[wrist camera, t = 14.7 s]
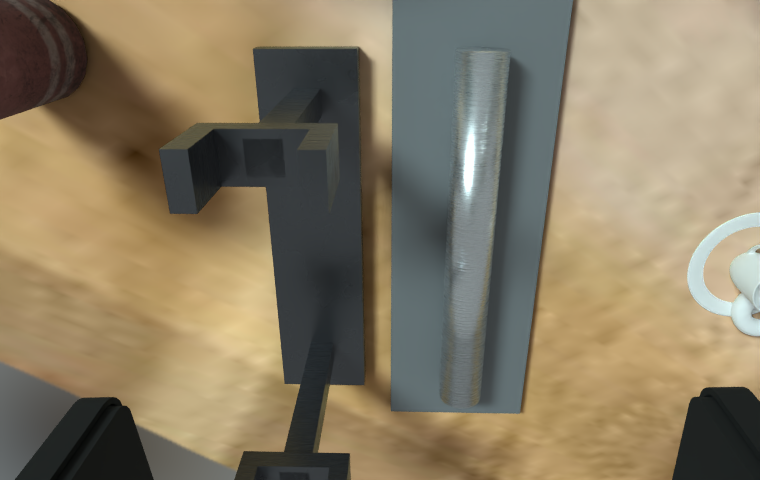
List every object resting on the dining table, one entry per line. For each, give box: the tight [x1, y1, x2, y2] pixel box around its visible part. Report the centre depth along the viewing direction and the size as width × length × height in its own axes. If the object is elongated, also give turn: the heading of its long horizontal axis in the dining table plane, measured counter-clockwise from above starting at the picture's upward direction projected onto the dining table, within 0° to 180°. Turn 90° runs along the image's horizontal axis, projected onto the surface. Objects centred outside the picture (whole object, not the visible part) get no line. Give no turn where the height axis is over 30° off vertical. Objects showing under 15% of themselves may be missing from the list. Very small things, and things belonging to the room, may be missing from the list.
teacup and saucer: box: [687, 212, 760, 336], centre depth 37 cm, size 9×8×4 cm
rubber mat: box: [391, 0, 573, 414], centre depth 37 cm, size 10×30×1 cm, turn 0°
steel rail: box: [439, 47, 511, 409], centre depth 36 cm, size 24×3×3 cm, turn 0°
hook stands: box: [159, 47, 365, 480], centre depth 31 cm, size 6×24×16 cm, turn 0°
